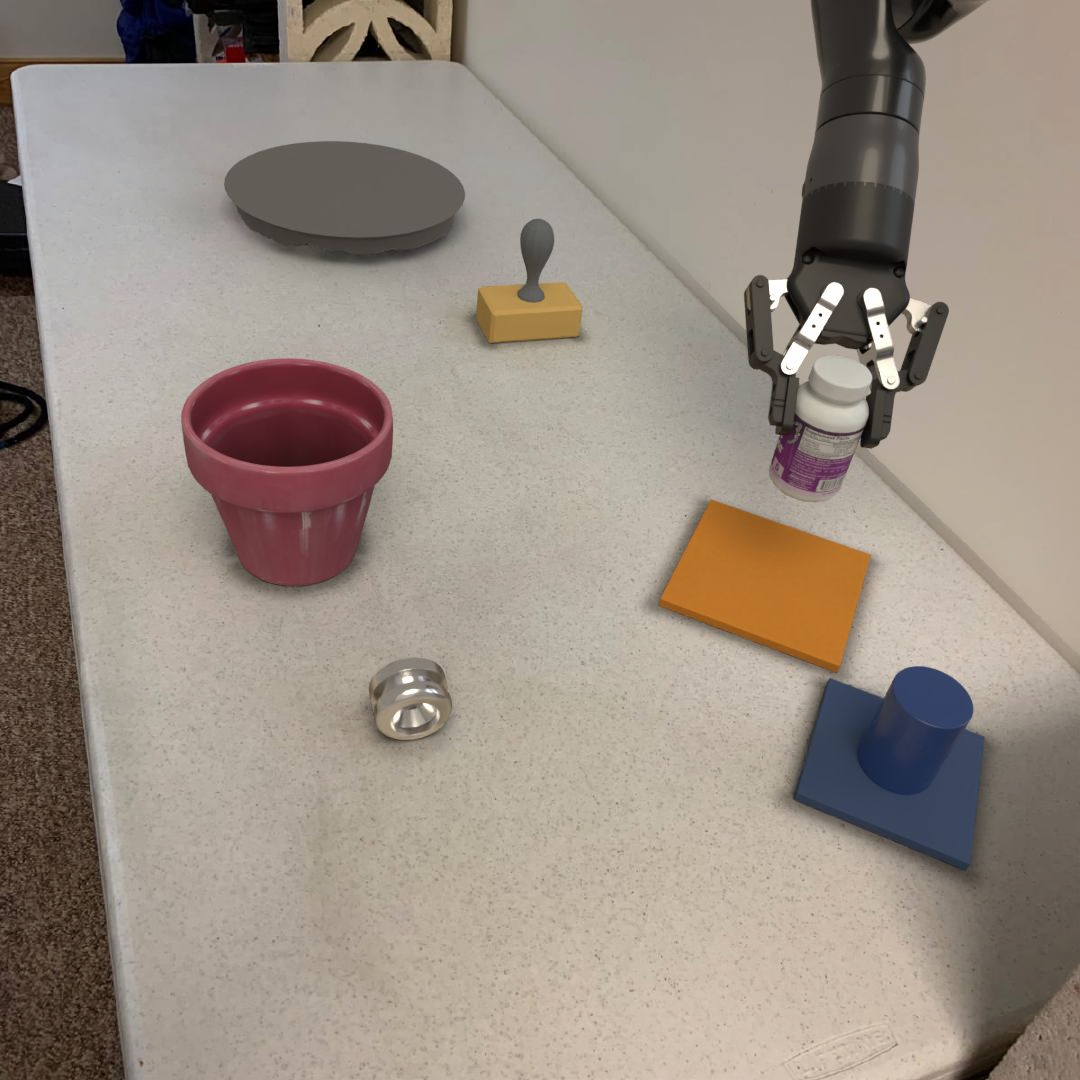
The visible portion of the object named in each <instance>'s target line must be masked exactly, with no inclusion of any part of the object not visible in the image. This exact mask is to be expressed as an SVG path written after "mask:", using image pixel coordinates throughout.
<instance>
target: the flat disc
mask: <svg viewBox="0 0 1080 1080" xmlns="http://www.w3.org/2000/svg"><path fill="white" fill-rule="evenodd" d="M223 186H224V191H225V193H226V195H227V197H228V198H229V199H230V200H231V201H232V203H233V204H234V205H235V207H236V209H237V213H238V215H239V216H240V218H241V220H242V222H243V223H244V225H245V226H247V228H249V229H250V230H251V231H252V232H254V233H257V234H259V235H260V236H262V237H264V238H267V239H269V240H272V241H274V242H276V244H279V245H282V246H284V247H291V246H292V247H300V246H303V245H306V246H307V245H311V246H315V247H317V248H319V249H322V250H325V251H332V252H337V253H338V252H340V251H345V252H346V253H349V254H353V255H356V256H359V255H374V254H380V253H383V252H387V251H391V250H395V251H396V252H404V251H407V250H410V249H418V248H421V247H423V246H424V245H425V246H427V245H429V244H432V243H433V242H435V241H436V240H438V238H443V236H445V235H448V233H449V231H450V229H452V226H453V224H454V219H455V216H456V213H458V212H459V210H460V209H461V207H463V206H464V205H463V204H464V202H465V200H466V192H465V191H466V190H465V188H464V185H463V183H462V182H461V180H460V179H459V178H458V177H457V176H456V175H455V174H454V173H453V172H452V171H450V169H448V168H447V167H445V166H444V165H442V164H439V163H438V162H436V161H434V160H432V159H430V158H427V157H425V156H423V155H419V154H416V153H414V152H410V151H407V150H404V149H401V148H400V149H399V148H397V147H390V146H387V145H386V146H385V145H381V144H373V143H367V142H356V141H342V140H341V141H338V140H321V141H320V140H319V141H318V140H317V141H303V142H295V143H289V144H283V145H278V146H274V147H269V148H266V149H262V150H260V151H256V152H254V153H252V154H250V155H248V156H246V157H243V158H242V159H240V160H239V161H237V162H236V163H235V164H234V165H232V167H231V168H230V169H229V170H228V171H227V172H226V175H225V177H224V182H223Z"/></svg>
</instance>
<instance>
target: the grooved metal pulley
mask: <svg viewBox="0 0 1080 1080" xmlns="http://www.w3.org/2000/svg"><path fill="white" fill-rule="evenodd" d="M448 688H449V687H448V681H447V677H446V674H445V670H444V669H443V668H442V666H441V665H440V664H438V663H437V662H436V661H433V660H432V659H427V658H423V657H405V658H401V659H398V660H395V661H392V662H390V663H388V664H386V665H384V666H382V667H381V668H380V669H379V670H378V671H377V672H375V674H374V675H372V678H370V681H369V684H368V694H369V699H370V704H371V707H372V709H373V711H372V714H373V721H374V724H375V726H376V728H377V730H379V731H380V732H381V733H382V734H383V735H385V736H387V737H389V738H391V739H395V740H399V741H400V740H401V741H411V740H412V741H413V740H417V739H422V738H424V737H425V738H426V737H427V736H430V735H432V734H434V733H436V732H437V731H438V730H440V729H441V728H442V727H443V726H444V725H445V724H446V723H447V722H448V720H449V718H450V717H451V714H452V710H453V699H452V697H451V694H450V692H449V690H448Z"/></svg>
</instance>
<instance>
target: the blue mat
mask: <svg viewBox="0 0 1080 1080" xmlns="http://www.w3.org/2000/svg"><path fill="white" fill-rule="evenodd" d="M883 698H884V697H881V696H879V695H876V694H874V693H871V692H868V691H865V690H863V689H860V688H858V687H855V686H853V685H850V684H847V683H844V682H842V681H839V680H837V679H834V678H832V677H829V678H828V680H827V683H826V685H825V689H824V692H823V696H822V699H821V703H820V705H819V709H818V712H817V715H816V716H817V717H816V719H815V723H814V727H813V730H812V734H811V737H810V741H809V744H808V748H807V752H806V755H805V758H804V762H803V766H802V769H801V773H800V775H799V779H798V783H797V786H796V790H795V792H794V793H795V794H794V797H793V800H794V801H796V802H797V803H801V804H803V805H806V806H808V807H810V808H813V809H814V810H815V809H816V810H818V811H819V812H822V813H825V814H827V815H829V816H832V817H835V818H837V819H840V820H841V821H844V822H847V823H850V824H851V825H854V826H857V827H859V828H862V829H863V830H866V831H868V832H871V833H873V834H875V835H878V836H881V837H883V838H885V839H887V840H891V841H893V842H895V843H897V844H900V845H902V846H905V847H907V848H909V849H912V850H915V851H917V852H919V853H922V854H924V855H927V856H930V857H931V858H933V859H936V860H939V861H941V862H944V863H946V864H948V865H951V866H954V867H956V868H958V869H961V870H963V871H967V869H968V868H969V867H970V866H971V864H972V856H973V855H972V854H973V844H974V838H975V837H974V836H975V828H976V827H975V826H976V818H977V809H978V802H979V801H978V799H979V792H980V781H981V774H982V765H983V764H982V763H983V755H984V748H985V747H984V746H985V736H984V735H981V734H978V733H976V732H973V731H971V730H968V729H966V728H965V730H964V731H963V733H962V734H961V736H960V738H959V739H958V741H957V742H956V744H955V746H954V747H953V749H952V750H951V752H950V754H949V755H948V757H947V758H946V760H945V762H944V763H943V765H942V766H941V768H940V770H939V771H938V773H937V774H936V776H935V778H934V779H933V781H932V782H931V784H930V785H929V787H928V788H927V789H926V790H924V791H922V792H920V793H918V794H913V795H902V794H897V793H893V792H890V791H888V790H886V789H884V788H882V787H880V786H879V785H877V784H876V783H874V782H873V781H872V780H871V779H870V778H869V777H868V776H867V775H866V773H865V772H864V771H863V769H862V767H861V765H860V763H859V760H858V747H859V744H860V742H861V740H862V738H863V737H864V735H865V733H866V731H867V729H868V727H869V725H870V723H871V721H872V719H873V717H874V715H875V714H876V712H877V710H878V708H879V706H880V704H881V702H882V700H883Z"/></svg>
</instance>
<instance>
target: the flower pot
mask: <svg viewBox="0 0 1080 1080" xmlns="http://www.w3.org/2000/svg"><path fill="white" fill-rule="evenodd" d="M180 422H181V431H182V432H181V433H182V440H183V446H184V447H183V448H184V452H185V453H184V454H185V457H186V463H187V467H188V469H189V472H190V474H191V476H192V477H193V479H194V480H195V481H196V483H197V484H198V485H199V486H201V488H202V489H203V490H205V491H206V492H207V493H209V494H210V496H211V498H212V500H213V503H214V505H215V507H216V509H217V512H218V514H219V517H220V518H221V520H222V523H223V525H224V527H225V530H226V531H227V533H228V536H229V538H230V541H231V543H232V545H233V547H234V550H235V552H236V555H237V557H238V560H239V562H240V563H241V565H242V566H243V567H244V568H245V569H246V570H247V571H248V572H249V573H250V574H252V575H253V576H254V577H256V578H258V579H260V580H262V581H264V582H266V583H270V584H275V585H280V586H286V587H302V586H308V585H313V584H314V585H315V584H319V583H320V582H325V581H327V580H329V579H332V578H333V577H336V576H337V575H339V574H340V573H341V572H343V571H344V570H345V569H346V568H348V566H349V565H350V564H351V563H352V561H353V560H354V558H355V555H356V553H357V551H358V547H359V543H360V539H361V537H362V532H363V530H364V527H365V523H366V521H367V520H366V519H367V515H368V512H369V509H370V505H371V501H372V498H373V495H374V490H375V486H376V485H377V484H378V483H379V482H380V481H381V479H383V477H384V476H385V475H386V473H387V470H388V469H389V467H390V464H391V461H392V457H393V444H394V416H393V408H392V405H391V402H390V400H389V398H388V396H387V395H386V393H385V392H384V391H383V390H382V388H380V387H379V386H378V385H377V384H376V383H375V382H374V381H372V380H371V379H369V378H368V377H366V376H364V375H363V374H360V373H358V372H356V371H354V370H352V369H350V368H347V367H344V366H341V365H338V364H335V363H329V362H326V361H321V360H315V359H307V358H306V359H305V358H293V357H292V358H291V357H289V358H268V359H261V360H253V361H249V362H245V363H242V364H238V365H235V366H232V367H229V368H227V369H224V370H221V371H219V372H217V373H215V374H213V375H212V376H211V377H209V378H207V379H206V380H204V381H203V382H201V383H200V384H199V385H198V386H196V387H195V389H194V390H192V392H191V393H190V394H189V395H188V397H187V398H186V400H185V402H184V404H183V406H182V409H181V414H180Z"/></svg>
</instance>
